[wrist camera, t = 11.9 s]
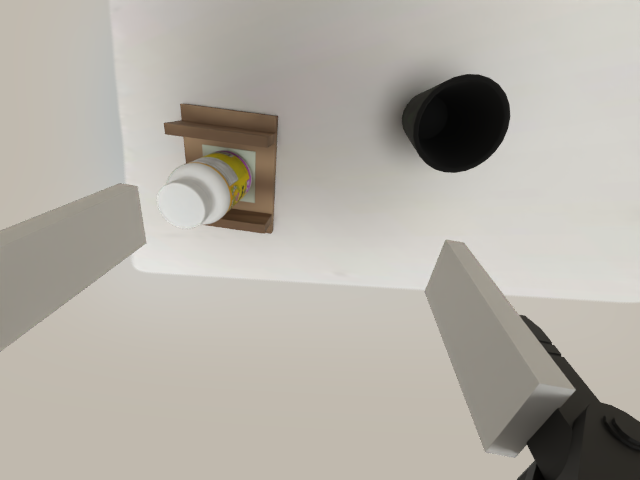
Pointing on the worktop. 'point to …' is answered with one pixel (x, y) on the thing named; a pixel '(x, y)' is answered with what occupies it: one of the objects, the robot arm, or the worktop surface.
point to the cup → (457, 122)
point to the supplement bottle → (204, 189)
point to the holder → (243, 139)
